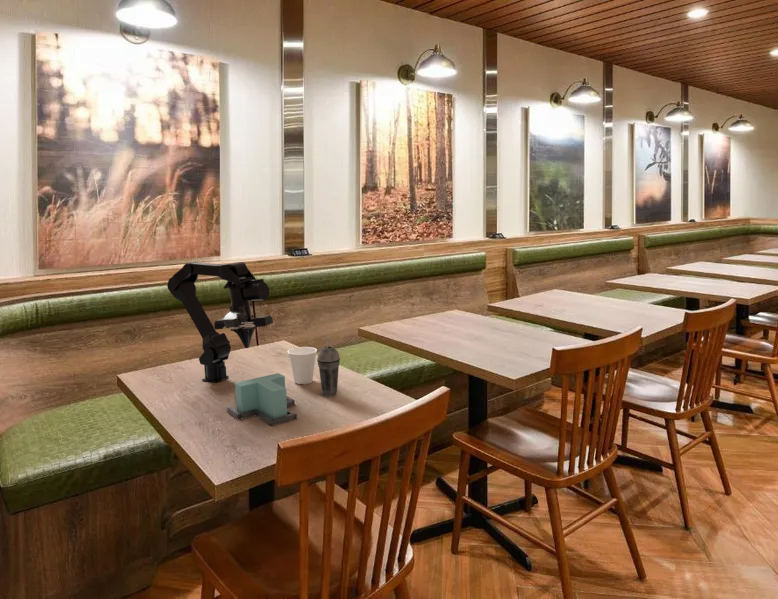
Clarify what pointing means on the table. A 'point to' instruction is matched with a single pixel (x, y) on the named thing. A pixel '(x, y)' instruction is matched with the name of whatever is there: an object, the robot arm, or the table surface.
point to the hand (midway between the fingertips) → (247, 347)
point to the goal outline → (264, 417)
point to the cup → (302, 364)
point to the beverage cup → (328, 370)
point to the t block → (262, 395)
